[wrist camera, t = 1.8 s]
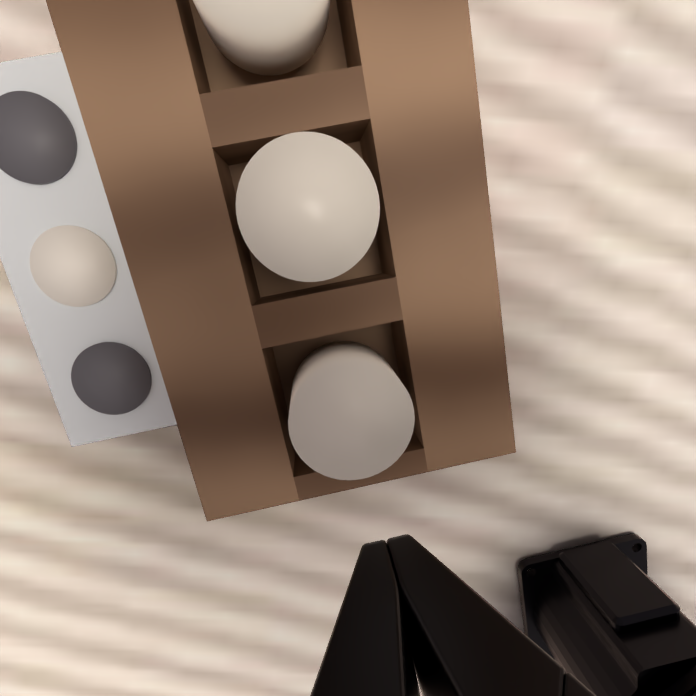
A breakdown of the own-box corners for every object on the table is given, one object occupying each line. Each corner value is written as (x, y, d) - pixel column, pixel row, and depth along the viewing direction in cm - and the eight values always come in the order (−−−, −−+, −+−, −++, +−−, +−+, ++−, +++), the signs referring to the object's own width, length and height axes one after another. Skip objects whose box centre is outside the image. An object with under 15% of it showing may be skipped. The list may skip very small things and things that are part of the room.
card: (194, 417, 18) (190, 423, 18) (76, 442, 18) (69, 449, 17) (85, 53, 15) (76, 45, 14) (-60, 78, 15) (-75, 71, 14)
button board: (482, 420, 19) (515, 452, 16) (223, 477, 19) (207, 521, 16) (417, -104, 15) (446, -199, 12) (71, -49, 14) (4, -132, 11)
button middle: (374, 264, 15) (390, 267, 12) (265, 286, 15) (255, 294, 12) (354, 146, 14) (366, 119, 11) (237, 167, 14) (219, 146, 11)
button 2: (403, 428, 17) (423, 465, 14) (304, 450, 17) (303, 492, 14) (386, 331, 16) (404, 348, 13) (281, 353, 16) (275, 375, 13)
